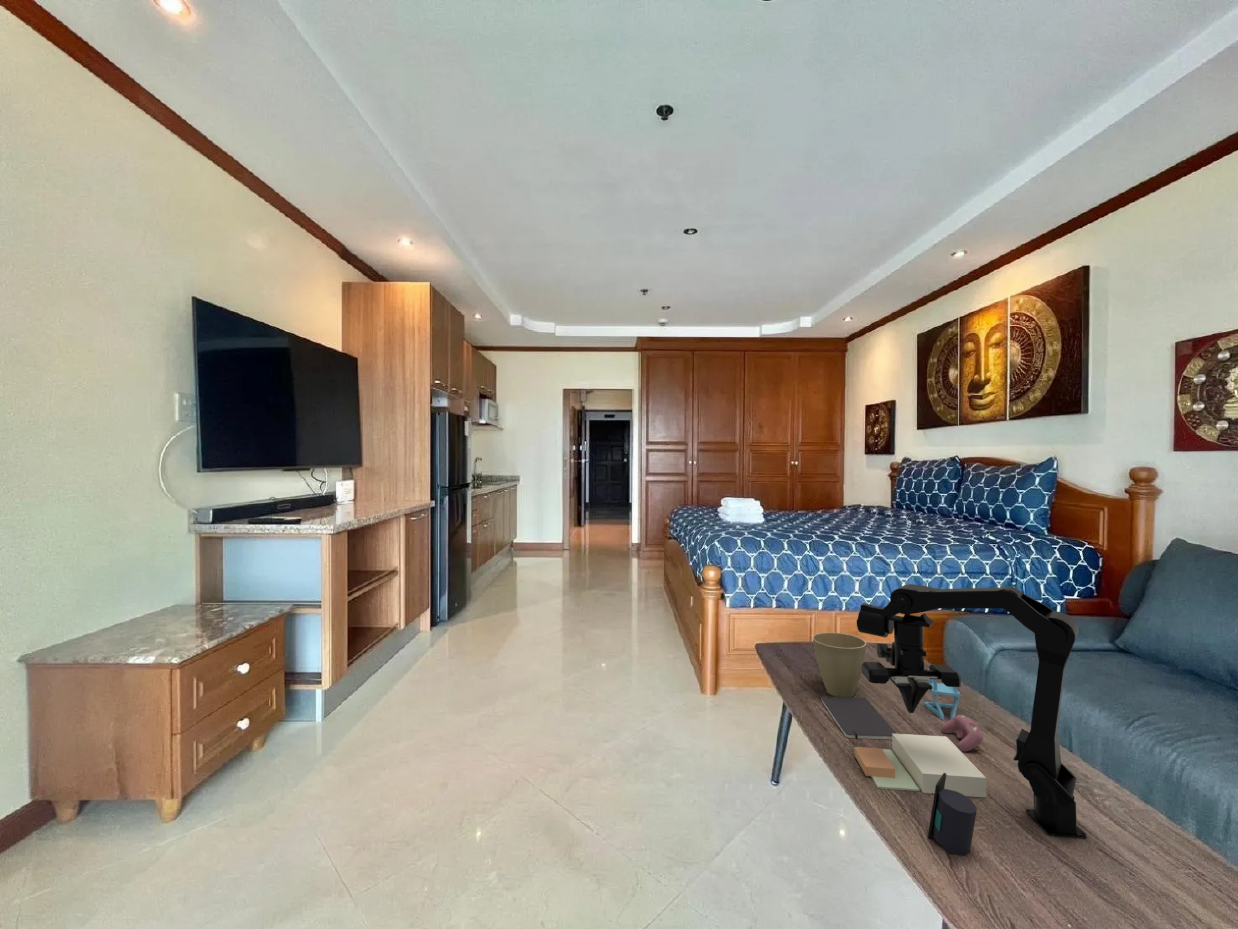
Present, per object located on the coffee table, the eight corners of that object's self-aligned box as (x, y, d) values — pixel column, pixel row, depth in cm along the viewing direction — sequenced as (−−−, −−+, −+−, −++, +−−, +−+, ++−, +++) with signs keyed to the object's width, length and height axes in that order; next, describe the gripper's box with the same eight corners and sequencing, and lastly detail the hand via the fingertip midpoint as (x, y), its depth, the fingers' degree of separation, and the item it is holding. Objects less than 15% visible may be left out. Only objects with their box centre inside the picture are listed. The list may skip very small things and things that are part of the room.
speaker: (915, 830, 92) (921, 777, 92) (936, 823, 95) (942, 771, 94) (957, 864, 85) (963, 806, 85) (978, 855, 88) (985, 799, 87)
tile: (865, 766, 109) (865, 775, 109) (895, 768, 108) (895, 778, 108) (854, 746, 117) (854, 755, 117) (881, 748, 116) (881, 757, 116)
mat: (919, 791, 104) (919, 789, 104) (877, 788, 105) (877, 786, 105) (891, 751, 119) (891, 749, 119) (854, 749, 120) (854, 747, 120)
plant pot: (875, 705, 142) (873, 649, 142) (820, 702, 144) (818, 647, 144) (858, 683, 156) (857, 632, 157) (809, 681, 159) (808, 631, 159)
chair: (931, 718, 134) (930, 674, 134) (923, 704, 142) (922, 662, 142) (965, 722, 132) (964, 677, 132) (955, 708, 140) (954, 665, 140)
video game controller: (976, 760, 117) (990, 734, 117) (957, 750, 118) (971, 724, 118) (955, 738, 127) (968, 714, 127) (938, 729, 128) (951, 705, 127)
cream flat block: (986, 797, 102) (986, 777, 102) (923, 793, 103) (922, 773, 103) (946, 753, 117) (946, 736, 118) (892, 750, 119) (892, 733, 119)
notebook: (899, 742, 124) (865, 702, 145) (899, 736, 124) (865, 697, 145) (846, 740, 125) (820, 701, 146) (846, 734, 125) (820, 696, 146)
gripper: (936, 632, 118) (937, 698, 118) (853, 629, 121) (854, 694, 121) (961, 648, 107) (963, 721, 107) (869, 645, 110) (870, 716, 110)
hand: (910, 712), depth 111 cm, fingers closed
